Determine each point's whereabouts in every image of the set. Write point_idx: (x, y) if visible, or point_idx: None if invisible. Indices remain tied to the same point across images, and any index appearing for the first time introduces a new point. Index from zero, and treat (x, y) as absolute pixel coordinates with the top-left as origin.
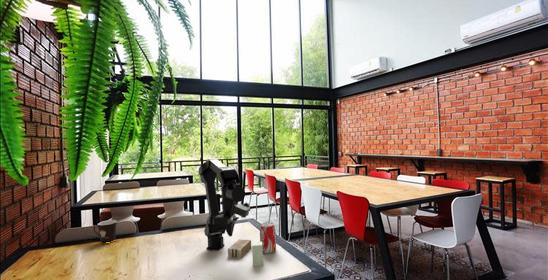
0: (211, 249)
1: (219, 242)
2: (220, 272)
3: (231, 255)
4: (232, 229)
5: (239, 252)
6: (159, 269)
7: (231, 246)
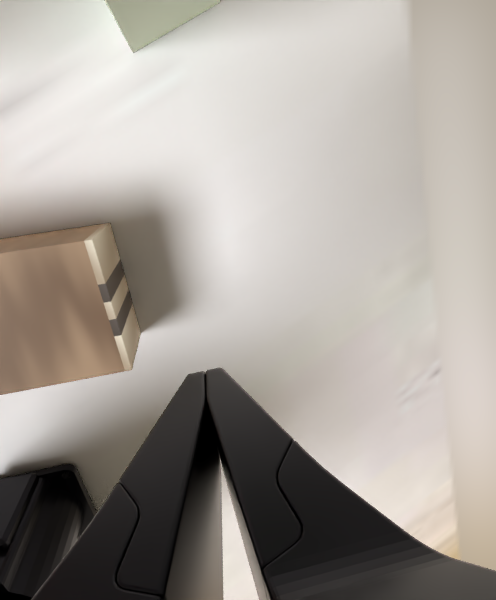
0: (90, 502)
1: (27, 516)
2: (385, 227)
3: (131, 312)
4: (197, 444)
5: (103, 246)
6: (399, 520)
7: (66, 373)
